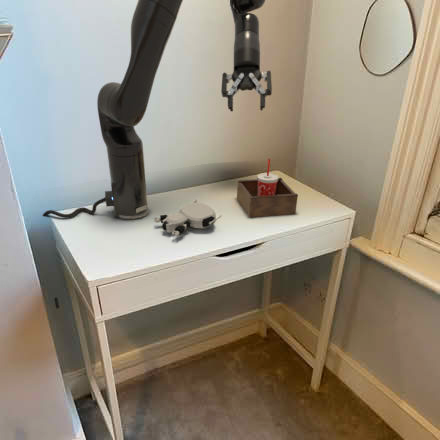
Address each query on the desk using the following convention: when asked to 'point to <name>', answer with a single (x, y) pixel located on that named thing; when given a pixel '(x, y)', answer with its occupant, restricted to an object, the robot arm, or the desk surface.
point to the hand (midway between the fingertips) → (246, 109)
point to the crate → (266, 199)
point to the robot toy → (188, 218)
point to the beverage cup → (267, 183)
